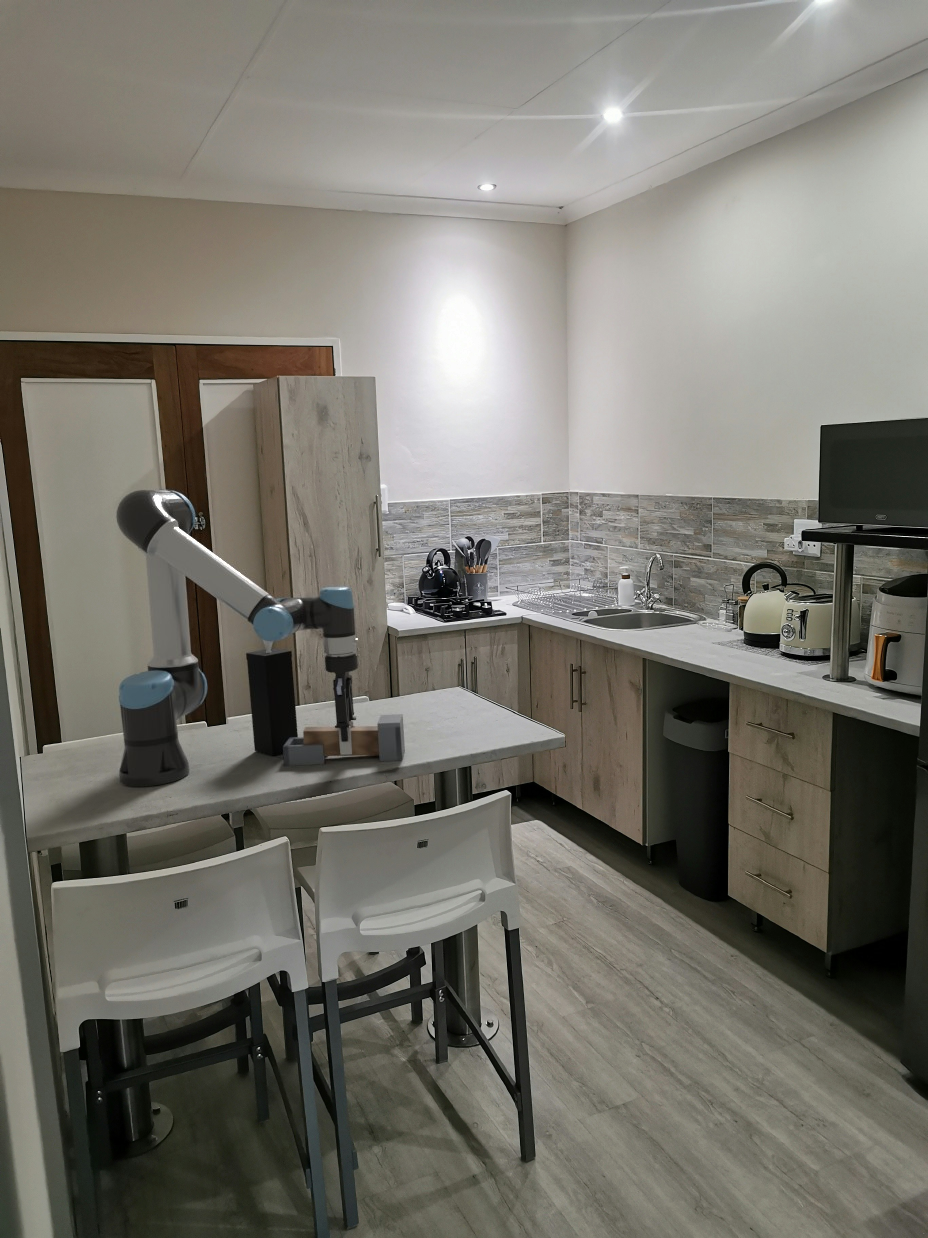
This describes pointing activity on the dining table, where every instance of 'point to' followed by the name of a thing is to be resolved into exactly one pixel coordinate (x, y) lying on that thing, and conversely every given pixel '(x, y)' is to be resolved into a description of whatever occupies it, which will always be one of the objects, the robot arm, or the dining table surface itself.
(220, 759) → the dining table surface
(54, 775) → the dining table surface
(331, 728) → the brown wooden block
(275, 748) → the black tall block
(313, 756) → the end cap
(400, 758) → the end cap
